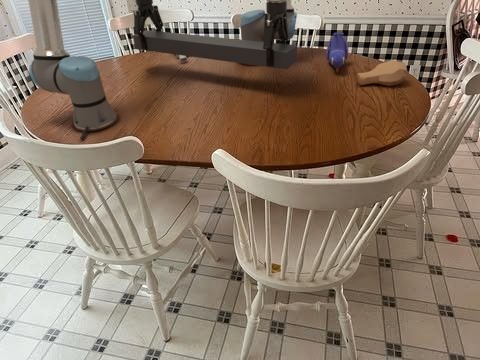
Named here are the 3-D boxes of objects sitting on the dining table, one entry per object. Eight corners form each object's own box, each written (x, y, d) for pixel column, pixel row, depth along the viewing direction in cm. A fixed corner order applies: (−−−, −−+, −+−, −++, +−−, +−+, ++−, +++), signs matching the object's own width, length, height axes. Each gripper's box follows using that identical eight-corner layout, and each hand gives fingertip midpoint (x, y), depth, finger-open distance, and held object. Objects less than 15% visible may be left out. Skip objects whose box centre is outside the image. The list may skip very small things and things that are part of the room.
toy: (325, 68, 179) (325, 75, 157) (327, 32, 172) (327, 34, 150) (346, 67, 177) (349, 74, 155) (348, 31, 170) (351, 33, 148)
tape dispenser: (183, 66, 184) (206, 53, 197) (182, 56, 181) (205, 43, 193) (158, 60, 192) (181, 48, 204) (156, 51, 188) (180, 38, 201)
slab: (135, 49, 171) (132, 35, 167) (149, 43, 178) (147, 30, 174) (286, 69, 137) (286, 52, 133) (296, 61, 144) (297, 45, 140)
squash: (410, 86, 145) (414, 66, 139) (360, 95, 147) (362, 76, 141) (400, 73, 153) (404, 53, 146) (353, 81, 155) (354, 62, 148)
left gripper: (130, -1, 149) (141, 53, 162) (166, -9, 164) (173, 40, 177) (118, -2, 152) (129, 51, 165) (153, -10, 168) (162, 39, 181)
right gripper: (271, 7, 120) (271, 72, 133) (298, -5, 136) (296, 54, 149) (252, 6, 123) (254, 69, 137) (280, -6, 139) (279, 52, 152)
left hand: (152, 46), depth 171 cm, fingers closed on slab, 10 cm apart
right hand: (276, 61), depth 143 cm, fingers closed on slab, 10 cm apart
